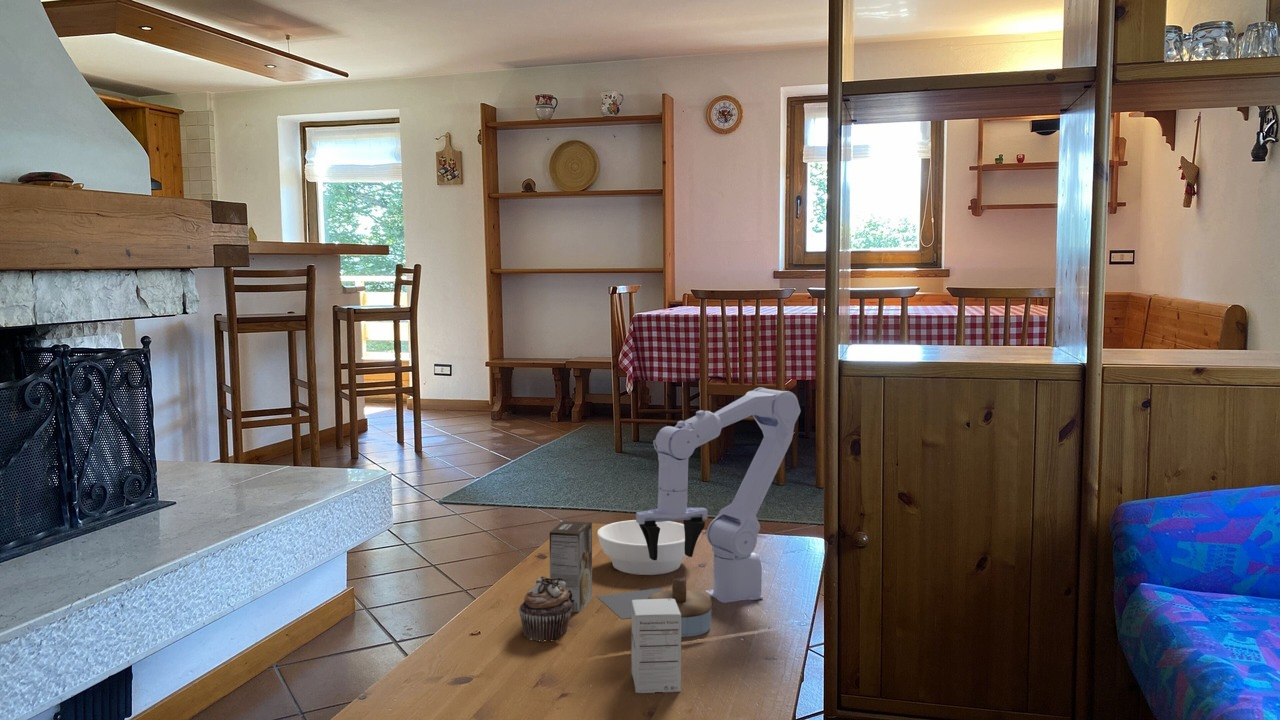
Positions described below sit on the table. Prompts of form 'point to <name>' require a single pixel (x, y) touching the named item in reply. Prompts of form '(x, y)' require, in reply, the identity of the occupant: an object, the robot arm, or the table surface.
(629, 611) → the mat
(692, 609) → the lid
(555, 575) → the coffee box
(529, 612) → the cupcake
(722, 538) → the robot arm
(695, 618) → the small bowl
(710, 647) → the table surface
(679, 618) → the supplement box
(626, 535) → the bowl
